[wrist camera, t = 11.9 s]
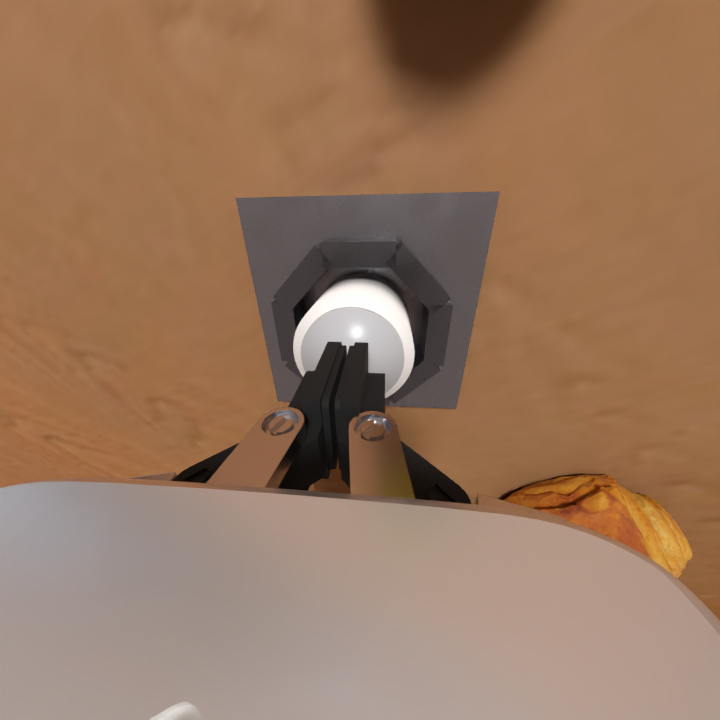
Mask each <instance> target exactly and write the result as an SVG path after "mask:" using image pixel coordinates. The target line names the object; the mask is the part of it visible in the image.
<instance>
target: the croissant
mask: <svg viewBox="0 0 720 720" xmlns="http://www.w3.org/2000/svg"><path fill="white" fill-rule="evenodd" d="M503 501H507V502H510V503H514V504H518V505H521V506H525V507H529V508H532V509H536V510H540V511H543V512H547V513H551V514H554V515H557V516H559V517H562V518H564V519H567V520H568V521H569V522H571V523H575V524H578V525H581V526H583V527H586V528H588V529H591V530H593V531H596V532H598V533H601V534H603V535H606V536H608V537H611V538H613V539H615V540H617V541H619V542H621V543H623V544H625V545H627V546H629V547H631V548H633V549H635V550H636V551H638V552H640V553H642V554H644V555H645V556H647V557H649V558H650V559H652V560H653V561H655V562H656V563H658V564H659V565H660V566H662V567H663V568H665V569H666V570H667V571H668V572H670V573H671V574H672V575H673V576H674V577H676V578H678V577H679V576H680V575H681V574H682V571H681V570H682V569H684V568H685V566H687V565H686V562H687V561H689V560H690V559H691V557H692V551H691V549H690V546H689V544H688V542H687V540H686V538H685V536H684V534H683V532H682V531H681V529H680V528H679V527H678V525H677V524H676V522H675V521H674V520H673V518H672V517H671V516H670V515H669V514H668V513H667V512H666V511H665V510H664V509H663V508H662V507H661V506H660V505H659V504H658V503H657V502H656V501H655V500H653V499H652V498H650V497H648V496H646V495H643V494H641V495H640V494H636V493H634V492H631V491H628V490H626V489H625V488H624V487H622V486H621V485H619V484H618V483H616V479H612V477H611V476H608V475H606V474H603V475H577V476H565V477H558V478H555V479H551V480H546V481H541V482H537V483H534V484H532V485H529V486H526V487H524V488H522V489H521V490H518V491H516V492H514V493H512V494H511V495H510V496H509V497H507V498H506V499H504V500H503Z"/></svg>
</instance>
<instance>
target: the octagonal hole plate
mask: <svg viewBox="0 0 720 720" xmlns="http://www.w3.org/2000/svg"><path fill="white" fill-rule="evenodd" d="M499 193H500V192H461V193H422V194H382V195H342V196H302V197H262V198H236V201H237V206H238V211H239V216H240V220H241V225H242V230H243V235H244V240H245V244H246V249H247V254H248V259H249V264H250V269H251V273H252V278H253V283H254V288H255V293H256V297H257V302H258V307H259V312H260V317H261V321H262V326H263V331H264V336H265V341H266V346H267V350H268V355H269V360H270V365H271V370H272V374H273V379H274V384H275V389H276V394H277V399H278V401H292V399H293V397H294V395H295V393H296V391H297V389H298V387H299V385H300V383H301V381H302V379H303V376H302V375H301V373H300V371H299V369H298V367H297V364H296V362H295V358H294V352H293V341H294V336H295V332H296V329H297V327H298V325H299V323H300V321H301V320H302V318H303V317H304V316H305V315H306V313H307V312H308V311H309V310H310V309H311V307H312V306H313V305H314V304H315V303H316V301H317V300H318V299H319V298H320V297H321V295H322V294H323V293H324V292H325V291H326V289H327V288H328V287H329V286H330V285H331V284H332V283H334V282H335V281H337V280H338V279H340V278H342V277H345V276H347V275H351V274H359V273H364V274H371V275H376V276H378V277H381V278H383V279H385V280H387V281H388V282H389V283H391V284H392V285H393V286H394V287H395V288H396V289H397V290H398V291H399V292H400V294H401V295H402V297H403V299H404V301H405V303H406V306H407V310H408V315H409V321H410V326H411V332H412V337H413V343H414V350H415V355H414V363H413V367H412V370H411V373H410V375H409V377H408V379H407V380H406V381H405V383H404V384H403V385H402V386H401V387H400V388H399V389H398V390H397V391H396V392H395V393H393V394H392V395H390V396H389V397H387V398H385V406H406V407H428V408H451V409H456V407H457V402H458V397H459V392H460V387H461V382H462V377H463V372H464V367H465V362H466V357H467V352H468V347H469V342H470V337H471V332H472V327H473V322H474V317H475V312H476V307H477V302H478V297H479V292H480V287H481V282H482V277H483V272H484V267H485V263H486V258H487V253H488V248H489V243H490V238H491V233H492V228H493V223H494V218H495V213H496V208H497V203H498V198H499Z"/></svg>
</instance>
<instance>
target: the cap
mask: <svg viewBox="0 0 720 720" xmlns="http://www.w3.org/2000/svg"><path fill="white" fill-rule="evenodd" d="M327 342H341V343H342V345H346V347H347V354H348V350H349V346H354V344H355V342H366V343H368V373H385V398H387V397H389V396H390V395H392V394H393V393H395V392H396V391H397V390H398V389H399V388H400V387H401V386H402V385H403V384H404V383H405V381H406V380H407V379H408V377H409V375H410V373H411V370H412V367H413V363H414V355H415V350H414V343H413V337H412V332H411V326H410V321H409V315H408V310H407V306H406V303H405V301H404V299H403V297H402V295H401V294H400V292H399V291H398V290H397V289H396V288H395V287H394V286H393V285H392V284H391V283H389V282H388V281H387V280H385V279H383V278H381V277H378V276H376V275H371V274H364V273H359V274H351V275H347V276H345V277H342V278H340V279H338V280H337V281H335V282H334V283H332V284H331V285H330V286H329V287H328V288H327V289H326V291H325V292H324V293H323V294H322V295H321V297H320V298H319V299H318V300H317V301H316V303H315V304H314V305H313V306H312V307H311V309H310V310H309V311H308V312H307V313H306V315H305V316H304V317H303V318H302V320H301V321H300V323H299V325H298V327H297V329H296V332H295V336H294V341H293V352H294V358H295V362H296V364H297V367H298V369H299V371H300V373H301V375H302V376H303V377H304V375H305V373H306V371H315V369H316V367H317V364H318V362H319V360H320V358H321V356H322V353H323V351H324V349H325V347H326V344H327Z"/></svg>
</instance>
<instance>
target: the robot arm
mask: <svg viewBox="0 0 720 720" xmlns="http://www.w3.org/2000/svg"><path fill="white" fill-rule="evenodd" d="M338 458H339V469H340V470H341V476H342V480H343V481H344V482H345V483H346V484H347V485H348V486H349V488H350V491H351V494H346V493H333V492H319V491H314V488H315V484H314V483H315V482H317V481H318V480H320V479H321V478H325V479H328V478H329V474H330V469H336V465H337V460H338ZM0 720H720V620H719V619H718V618H717V617H716V616H715V615H714V614H713V613H712V612H711V611H710V610H709V609H708V608H707V607H706V606H705V605H704V604H703V603H702V602H701V601H700V599H699V598H698V597H696V596H695V595H694V594H693V593H692V592H691V591H690V590H689V589H688V588H687V587H686V586H685V585H684V584H683V583H682V582H681V581H679V580H678V579H677V578H676V577H674V576H673V575H672V574H671V573H670V572H668V571H667V570H666V569H665V568H663V567H662V566H660V565H659V564H658V563H656V562H655V561H653V560H652V559H650V558H649V557H647V556H645V555H644V554H642V553H640V552H638V551H636V550H635V549H633V548H631V547H629V546H627V545H625V544H623V543H621V542H619V541H617V540H615V539H613V538H611V537H608V536H606V535H603V534H601V533H598V532H596V531H593V530H591V529H588V528H586V527H583V526H581V525H578V524H575V523H571V522H569V521H568V520H567V519H564V518H562V517H559V516H557V515H554V514H551V513H547V512H543V511H540V510H536V509H532V508H529V507H525V506H521V505H518V504H514V503H510V502H507V501H503V500H499V499H496V498H492V497H489V496H485V495H481V494H478V495H477V497H473V496H469V495H467V494H466V492H465V491H464V490H463V489H462V488H461V487H460V486H459V485H458V484H456V483H455V482H454V481H452V480H451V479H450V478H448V477H447V476H446V475H445V474H443V473H442V472H441V471H439V470H438V469H437V468H436V467H434V466H433V465H432V464H430V463H429V462H428V461H426V460H425V459H424V458H423V457H421V456H420V455H419V454H417V453H416V452H415V451H413V450H412V449H411V448H410V447H408V446H407V445H406V444H404V443H403V442H402V441H400V437H399V433H398V429H397V425H396V423H395V421H394V420H393V419H392V418H391V417H390V416H389V415H387V414H385V373H368V343H366V342H355V344H354V346H349V350H348V354H347V347H346V345H342V343H341V342H327V344H326V347H325V349H324V351H323V353H322V356H321V358H320V360H319V362H318V364H317V367H316V369H315V371H306V373H305V375H304V377H303V379H302V381H301V383H300V385H299V387H298V389H297V391H296V393H295V395H294V397H293V399H292V401H291V403H290V405H289V406H288V407H282V408H277V409H274V410H271V411H269V412H267V413H266V414H264V415H263V416H262V417H261V418H260V419H259V420H258V421H257V423H256V424H255V425H254V426H253V427H252V429H251V430H250V431H249V432H248V433H247V435H246V436H245V437H244V438H243V439H242V441H241V442H240V443H238V444H236V445H234V446H232V447H230V448H228V449H226V450H224V451H222V452H220V453H218V454H216V455H214V456H211V457H209V458H207V459H205V460H203V461H201V462H199V463H197V464H195V465H193V466H191V467H189V468H188V469H186V470H184V471H183V472H181V473H180V474H179V475H178V476H177V474H176V473H175V472H173V473H166V474H158V475H151V476H143V477H136V478H128V479H127V478H104V477H72V478H55V479H45V480H38V481H31V482H24V483H19V484H15V485H10V486H6V487H2V488H0Z"/></svg>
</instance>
